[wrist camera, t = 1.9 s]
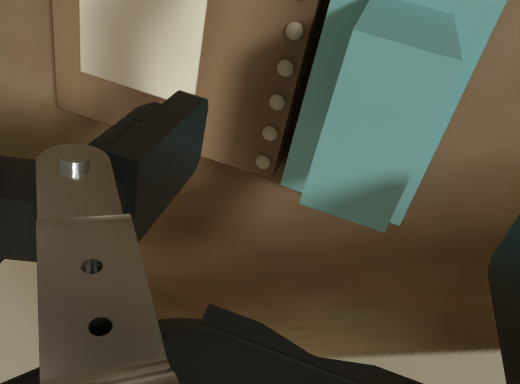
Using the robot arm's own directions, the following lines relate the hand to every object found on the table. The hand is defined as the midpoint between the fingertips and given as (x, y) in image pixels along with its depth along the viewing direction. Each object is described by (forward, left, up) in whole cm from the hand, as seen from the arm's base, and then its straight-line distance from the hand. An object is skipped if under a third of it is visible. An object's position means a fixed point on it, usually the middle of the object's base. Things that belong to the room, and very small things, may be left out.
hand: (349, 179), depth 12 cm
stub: (0, 0, -11) cm, 11 cm away
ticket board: (+9, 0, -11) cm, 14 cm away
